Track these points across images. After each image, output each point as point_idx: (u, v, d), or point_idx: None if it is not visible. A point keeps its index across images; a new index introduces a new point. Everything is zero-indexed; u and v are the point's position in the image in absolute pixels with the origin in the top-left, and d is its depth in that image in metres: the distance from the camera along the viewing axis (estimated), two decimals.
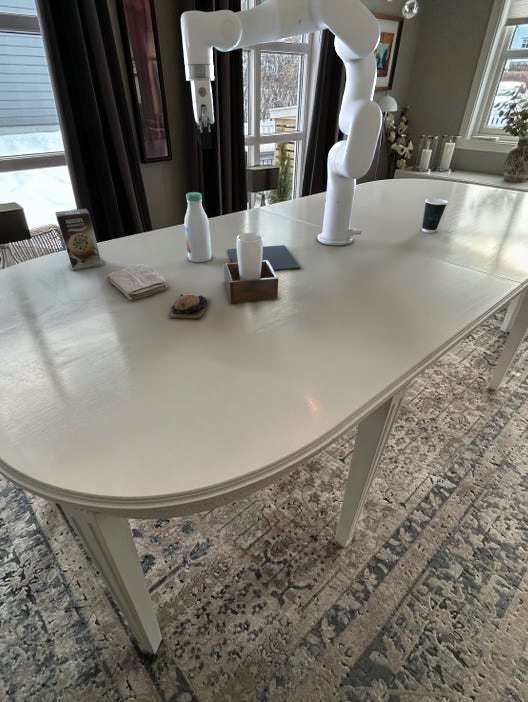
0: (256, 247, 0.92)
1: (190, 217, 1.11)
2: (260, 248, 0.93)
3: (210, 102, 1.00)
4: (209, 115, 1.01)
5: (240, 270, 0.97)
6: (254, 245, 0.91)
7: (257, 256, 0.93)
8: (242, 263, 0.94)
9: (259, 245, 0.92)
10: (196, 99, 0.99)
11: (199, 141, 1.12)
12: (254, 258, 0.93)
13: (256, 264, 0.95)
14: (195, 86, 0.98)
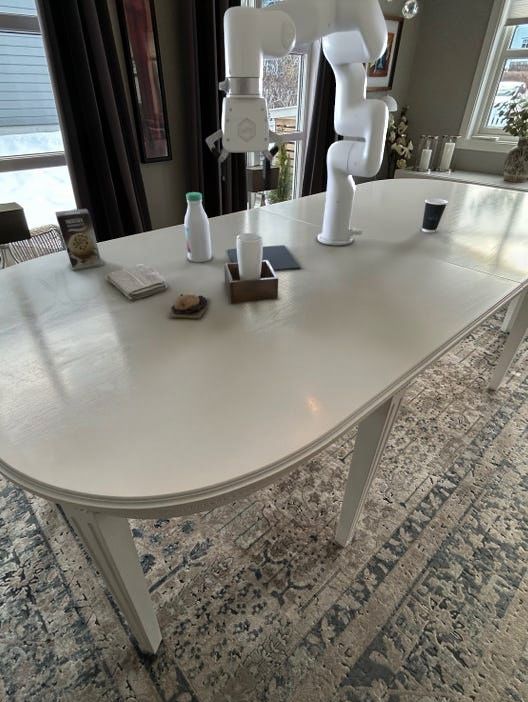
0: (256, 247, 0.92)
1: (190, 217, 1.11)
2: (260, 248, 0.93)
3: (223, 125, 0.78)
4: (223, 141, 0.80)
5: (240, 270, 0.97)
6: (254, 245, 0.91)
7: (257, 256, 0.93)
8: (242, 263, 0.94)
9: (258, 245, 0.92)
10: None
11: None
12: (254, 258, 0.93)
13: (256, 264, 0.95)
14: None
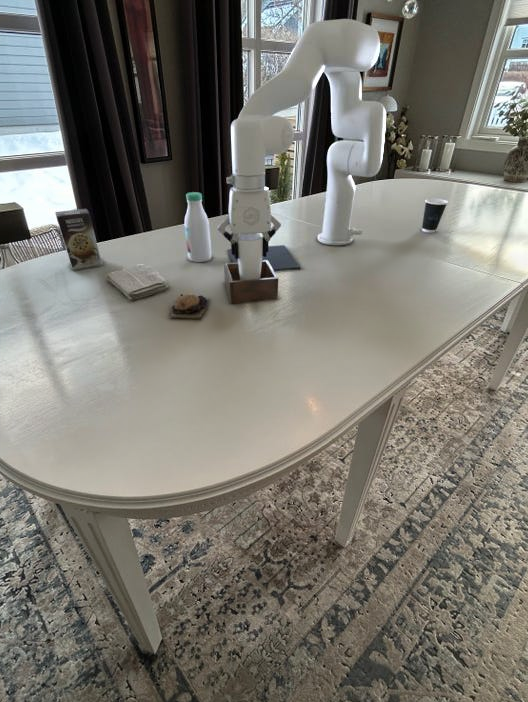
0: (256, 247, 0.92)
1: (190, 217, 1.11)
2: (260, 248, 0.93)
3: (230, 213, 0.87)
4: None
5: (240, 270, 0.97)
6: (254, 245, 0.91)
7: (257, 256, 0.93)
8: (242, 263, 0.94)
9: (259, 245, 0.92)
10: None
11: None
12: (254, 258, 0.93)
13: (256, 264, 0.95)
14: None
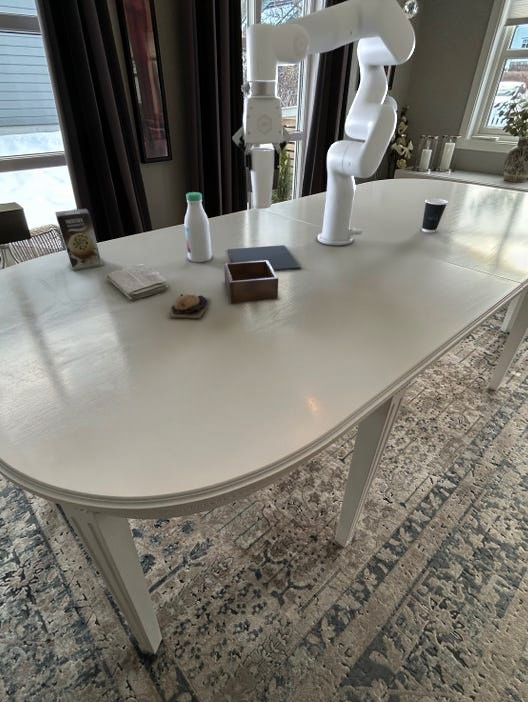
0: (269, 157, 0.98)
1: (190, 217, 1.11)
2: (272, 159, 1.00)
3: (245, 121, 0.93)
4: None
5: (253, 183, 1.03)
6: (267, 155, 0.98)
7: (269, 167, 1.00)
8: (255, 174, 1.01)
9: (271, 155, 0.99)
10: None
11: None
12: (266, 169, 1.00)
13: (268, 176, 1.01)
14: None
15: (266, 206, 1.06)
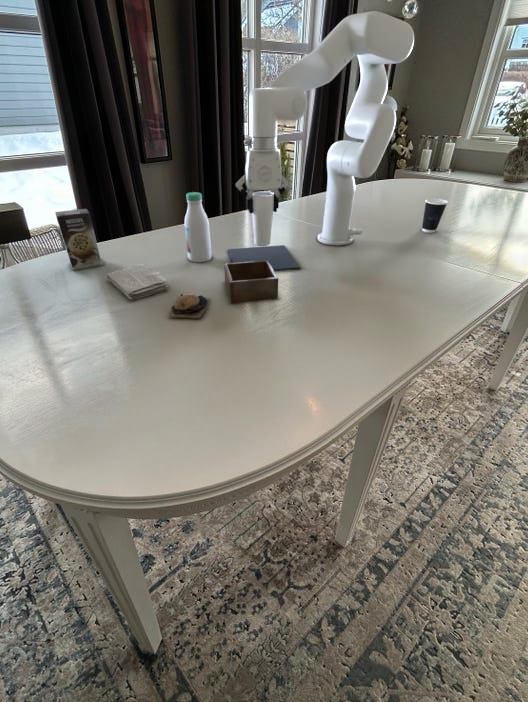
0: (268, 202, 1.07)
1: (190, 217, 1.11)
2: (272, 203, 1.08)
3: (247, 170, 1.02)
4: (247, 184, 1.05)
5: (254, 224, 1.12)
6: (267, 200, 1.07)
7: (269, 210, 1.09)
8: (256, 217, 1.10)
9: (270, 200, 1.07)
10: None
11: None
12: (266, 212, 1.09)
13: (268, 218, 1.10)
14: None
15: (266, 244, 1.15)
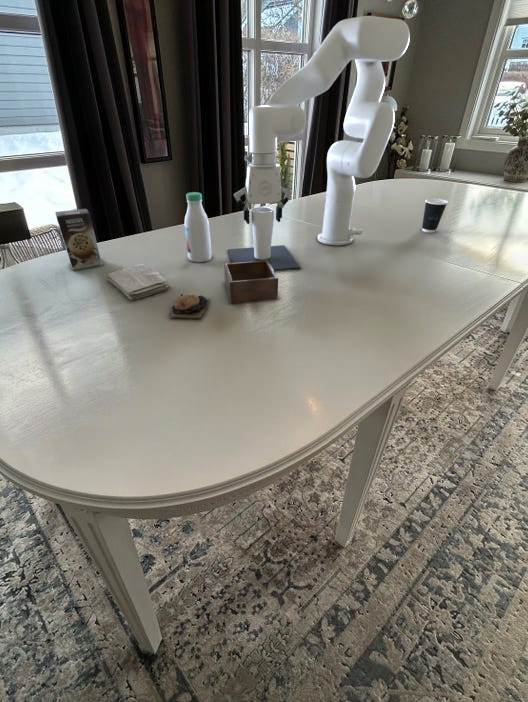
0: (268, 218, 1.10)
1: (190, 217, 1.11)
2: (271, 219, 1.11)
3: (247, 185, 1.04)
4: (246, 196, 1.07)
5: (254, 238, 1.15)
6: (266, 216, 1.09)
7: (269, 226, 1.12)
8: (256, 232, 1.13)
9: (270, 216, 1.10)
10: None
11: None
12: (266, 227, 1.11)
13: (268, 233, 1.13)
14: None
15: (266, 258, 1.18)
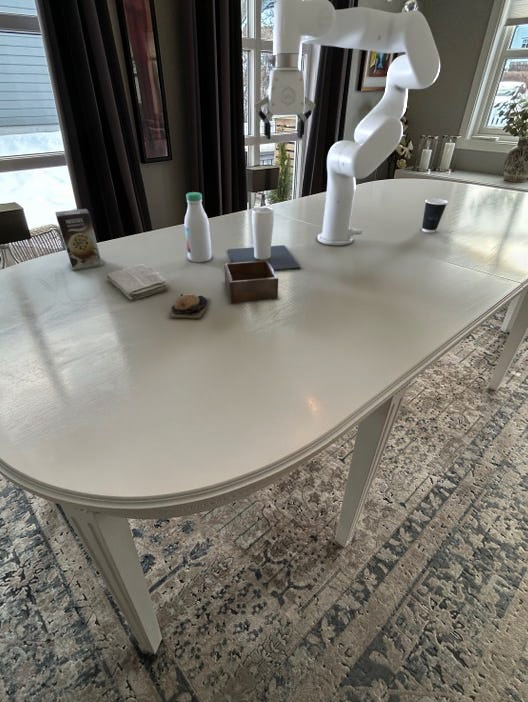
0: (268, 218, 1.10)
1: (190, 217, 1.11)
2: (271, 219, 1.11)
3: (270, 92, 0.99)
4: (268, 105, 1.01)
5: (254, 238, 1.15)
6: (266, 216, 1.09)
7: (269, 226, 1.12)
8: (256, 232, 1.13)
9: (270, 216, 1.10)
10: None
11: (297, 134, 1.09)
12: (266, 227, 1.11)
13: (268, 233, 1.13)
14: None
15: (266, 258, 1.18)
